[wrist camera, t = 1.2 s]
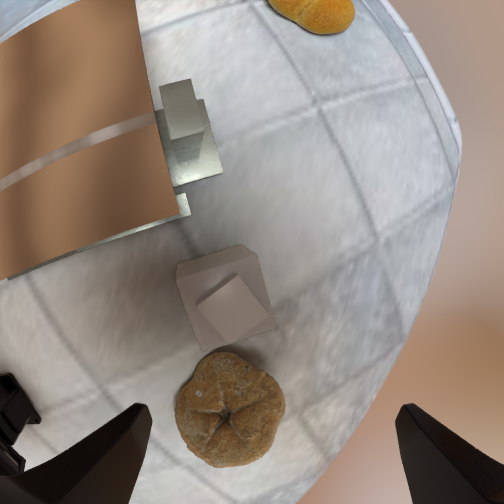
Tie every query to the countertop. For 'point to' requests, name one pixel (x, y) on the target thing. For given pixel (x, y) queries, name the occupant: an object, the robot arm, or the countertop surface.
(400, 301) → the countertop surface
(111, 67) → the trapdoor
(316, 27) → the bread roll
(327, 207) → the countertop surface
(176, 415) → the fossil
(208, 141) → the trapdoor frame
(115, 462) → the robot arm
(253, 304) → the gray block
